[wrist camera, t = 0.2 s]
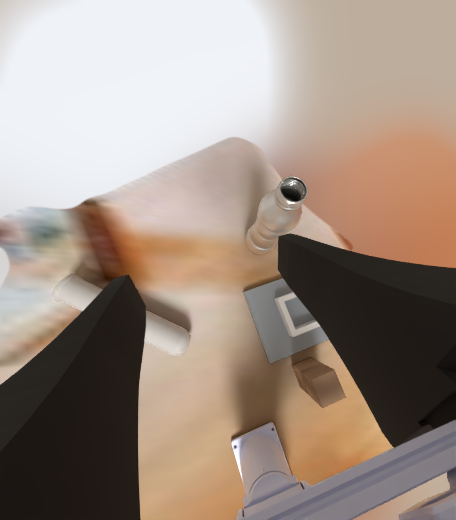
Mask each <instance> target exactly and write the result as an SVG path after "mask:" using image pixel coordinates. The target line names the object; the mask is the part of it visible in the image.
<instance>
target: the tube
mask: <svg viewBox="0 0 456 520" xmlns="http://www.w3.org/2000/svg"><path fill="white" fill-rule="evenodd" d="M102 290H103V289H102V288H100V287H98V286H96V285H93V284H91V283H89V282H87V281H85V280H83V279H81V277H80V276H77V275H73V274H70V275H69V276H67V277H66V278H64V279H63V280H61V281H60V282H59V283H58V285H57V286H56V288H55V289H54V291H53V292H52V293H53V296H54V298H55V300H57V301H62V302H64V303H66V304H68V305H70V306H72V307H74V308H76V309H78V310H80V311H83V310H84V309H85V308H86V307H87V306H88V305H89V304H90V303H91V302H92V301H93V300H94V299H95V298H96V297H97V295H98V294H99V293H100V292H101V291H102ZM190 337H191V335H190V334H189V332H188V331H187V330H186V329H184V328H182V327H180V326H178V325H176V324H174V323H172V322H170V321H168V320H166V319H164V318H162V317H160V316H158V315H155V314H153V313H151V312H149V311H147V310H146V332H145V340H144V342H146V343H148V344H150V345H152V346H154V347H156V348H158V349H160V350H162V351H164V352H166V353H168V354H170V355H172V356H179V355H182V354H183V352H184V351H185V350H186V348H187V347H188V345H189V341H190Z"/></svg>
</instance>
